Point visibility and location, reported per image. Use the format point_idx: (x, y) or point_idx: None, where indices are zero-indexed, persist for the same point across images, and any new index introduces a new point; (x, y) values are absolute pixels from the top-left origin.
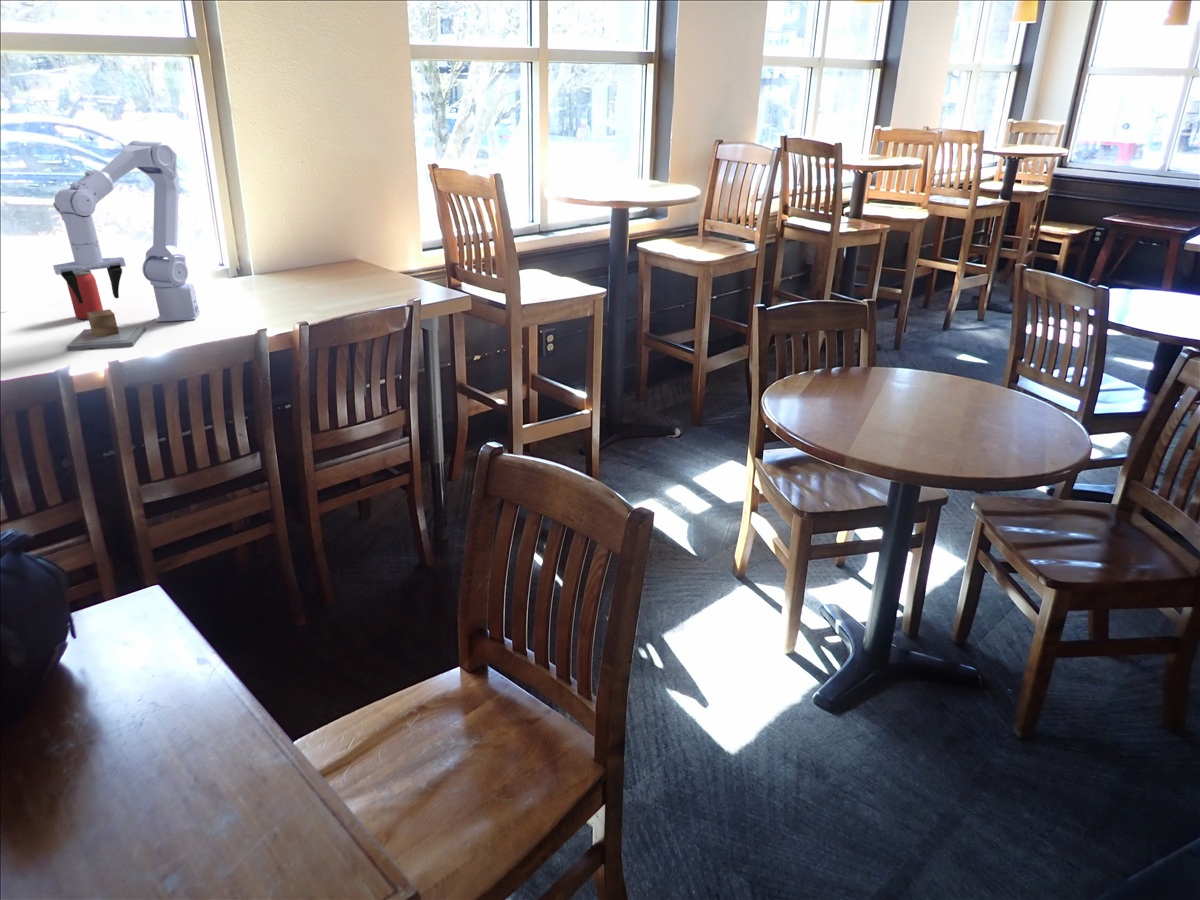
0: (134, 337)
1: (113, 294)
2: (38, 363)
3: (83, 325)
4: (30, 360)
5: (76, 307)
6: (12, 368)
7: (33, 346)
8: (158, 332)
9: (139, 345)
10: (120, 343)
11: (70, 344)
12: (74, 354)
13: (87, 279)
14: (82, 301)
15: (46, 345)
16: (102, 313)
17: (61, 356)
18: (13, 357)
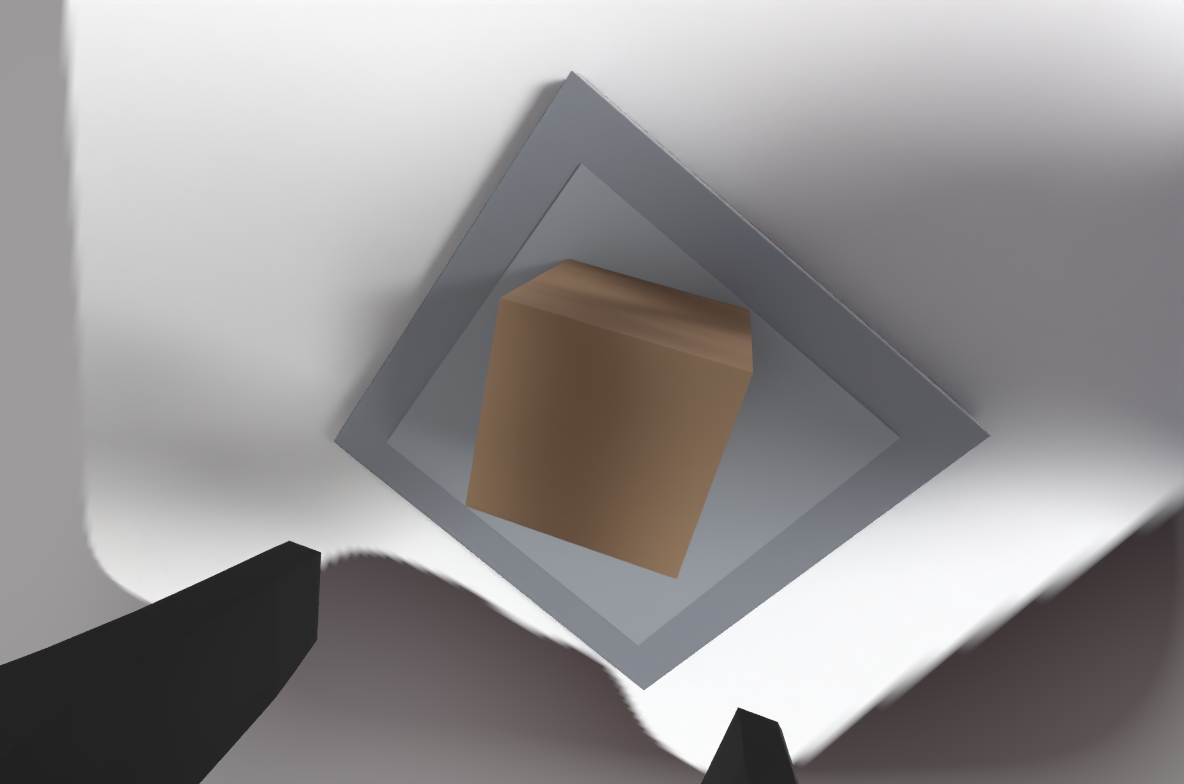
0: (711, 629)
1: (736, 746)
2: (195, 509)
3: None
4: (167, 429)
5: None
6: (95, 479)
7: (199, 137)
8: (965, 564)
9: (681, 684)
10: (590, 642)
11: (359, 421)
12: (360, 526)
13: None
14: (297, 661)
15: (271, 191)
16: (601, 475)
17: (300, 500)
18: (95, 295)
